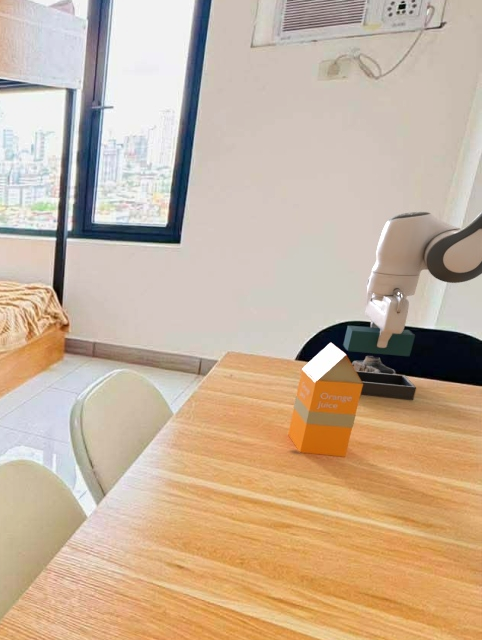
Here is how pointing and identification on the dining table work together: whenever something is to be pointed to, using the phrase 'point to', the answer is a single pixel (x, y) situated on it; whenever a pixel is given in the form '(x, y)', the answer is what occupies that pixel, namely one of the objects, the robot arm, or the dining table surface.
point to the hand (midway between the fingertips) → (377, 343)
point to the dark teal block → (367, 338)
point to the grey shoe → (372, 366)
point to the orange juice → (325, 404)
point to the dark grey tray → (386, 385)
